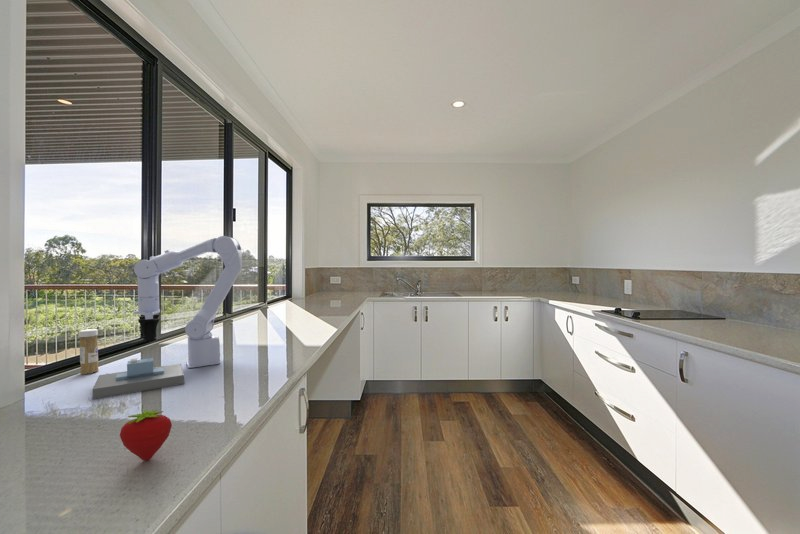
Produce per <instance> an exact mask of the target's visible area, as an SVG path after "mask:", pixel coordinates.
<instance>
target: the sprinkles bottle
mask: <svg viewBox="0 0 800 534" xmlns="http://www.w3.org/2000/svg"><path fill="white" fill-rule="evenodd" d="M98 335H99V329H97V328H87V329H81V330H78V337H79V363H80V372H79V373H80V374H82V375H88V374H87V373H91V374H94V373H93V372H95V373H97V372H99V370H100V369H99V348H98V347H99V346H98Z"/></svg>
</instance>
